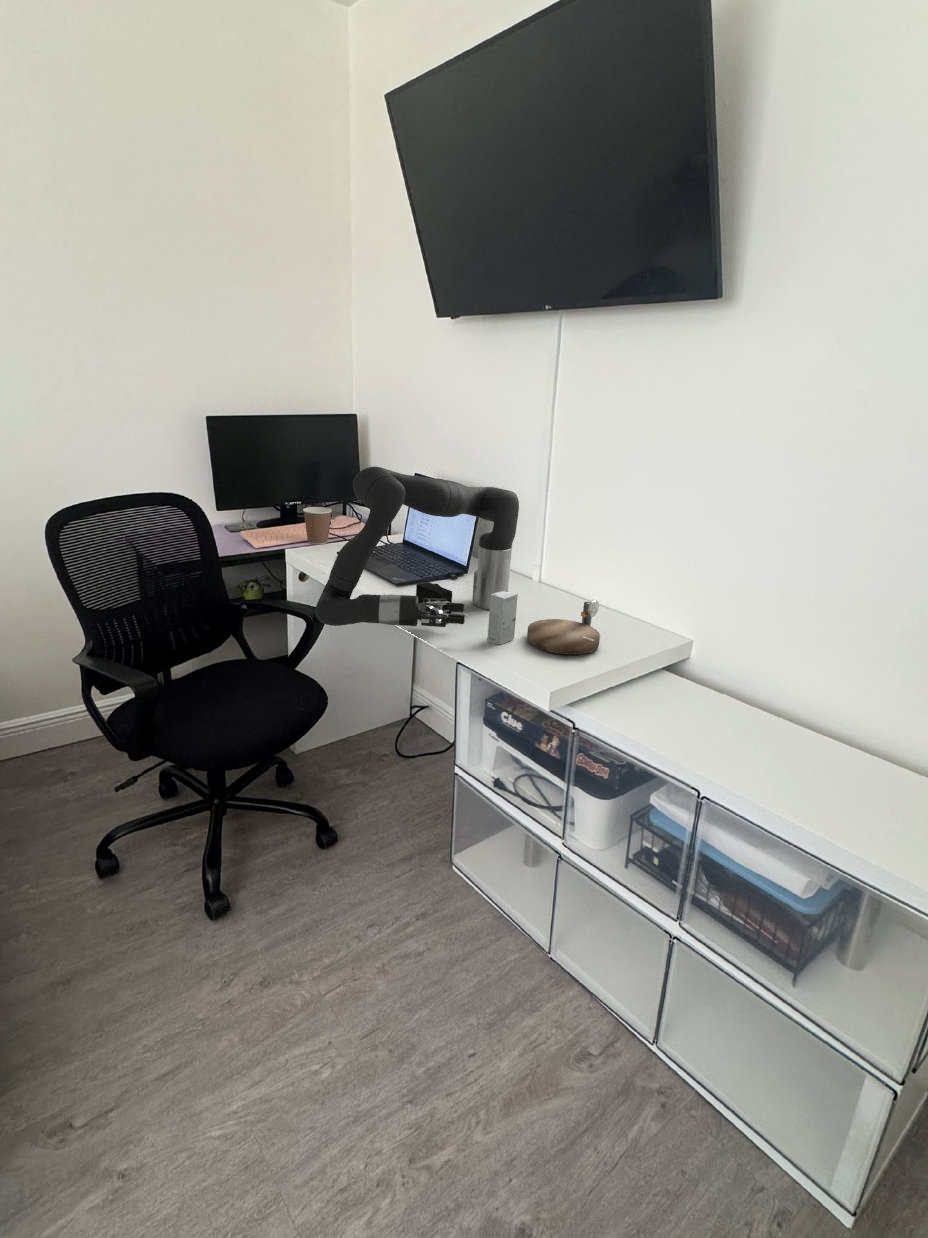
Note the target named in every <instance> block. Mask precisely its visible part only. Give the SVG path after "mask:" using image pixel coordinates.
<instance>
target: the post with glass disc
mask: <svg viewBox="0 0 928 1238" xmlns="http://www.w3.org/2000/svg"><path fill="white" fill-rule="evenodd" d="M599 608H600V602H599V601H598V600H597V599H592V600H591V601H583V609H582V611H581V612H580V616H581V617H582V618H581V623H583V624H586V625H589V626H591V627H592V625H591V624H592V619H593V617H595V616H597V614H598V611H599Z"/></svg>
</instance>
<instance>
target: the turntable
mask: <svg viewBox="0 0 928 1238" xmlns="http://www.w3.org/2000/svg"><path fill="white" fill-rule="evenodd" d="M526 639H527V642H528V643H530V644H531V645H533V646H534V647H536V648H539V649H540V650H543V651H547V652H551V653H557V654H561V655H562V654H563V655H582V654H583V655H584V654H589V653H592V652H594V651H596V650H597V649H599V647H600V639H601V634H600V632H599V631H598V630H597V629H595V628H594V627H593V626H592V625H591V626H589V625H586V624H583V623H582V622H580V621H576V620H568V619H561V618H549V619H547V618H545V619H540V620H537V621H536V620H535V621H533V622H531V623H529V625H528V626H527V635H526Z"/></svg>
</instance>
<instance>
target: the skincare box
mask: <svg viewBox="0 0 928 1238" xmlns="http://www.w3.org/2000/svg"><path fill="white" fill-rule="evenodd" d="M518 595H519V594H518V593H516V592H513V591H509V590H508V591H501V592H497V593H494V594H491V597H490V609H489V610H488V611H489V613H488V614H489V615H488V626H487V627H488V628H487V641H489V642H490V641H491V642H490V643H493V644H497V645H498V646H499V645H503V644H505V643H509V642H511V641H513V640H514V639H515V630H516V621H517V619H516V618H517V608H518Z"/></svg>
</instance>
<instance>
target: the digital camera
mask: <svg viewBox="0 0 928 1238" xmlns="http://www.w3.org/2000/svg"><path fill="white" fill-rule="evenodd" d="M415 587H416V588H415V589H416V590H415V596H418V598H419V603H423V599H424V598H437V599H447V601H449V603H453V591H452V590H450V589H447V588H444V587H442V586H441V585H440V584H438V583H432V582H430V581H425V582H421V583H417V584H416V586H415ZM444 613H447V614H449V615H450V614H452V612H449V611H448V612H444Z"/></svg>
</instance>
